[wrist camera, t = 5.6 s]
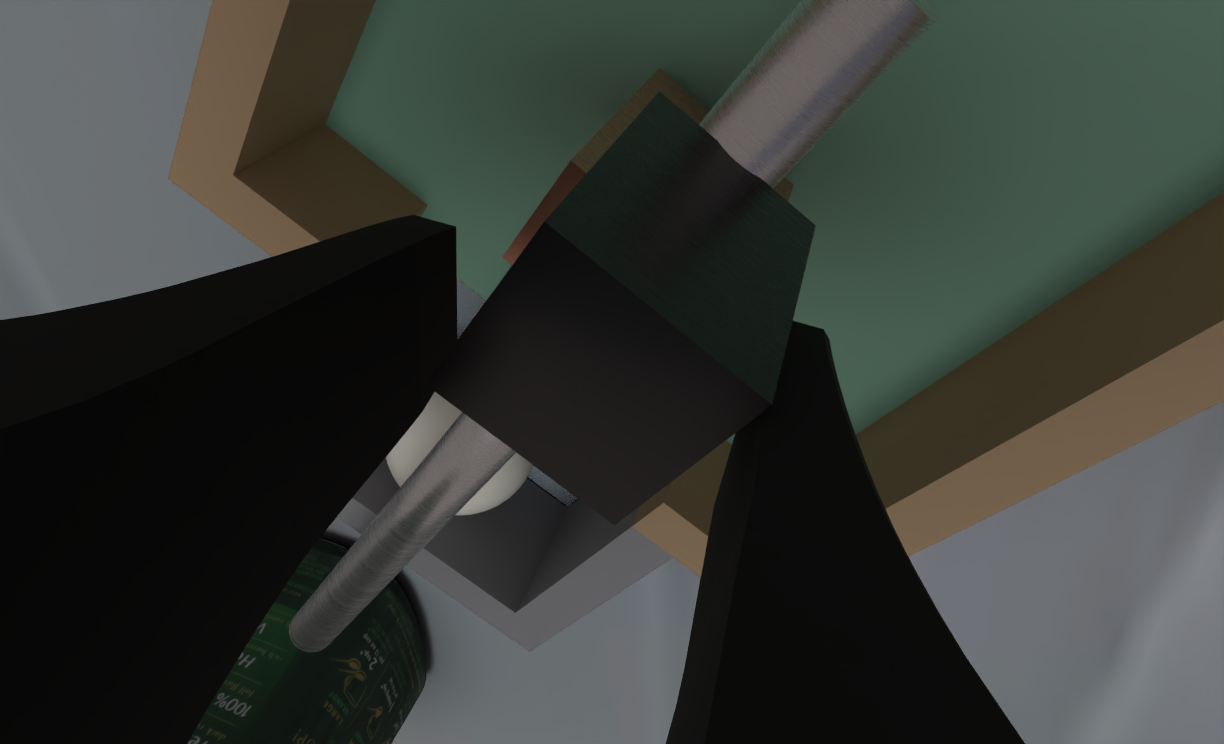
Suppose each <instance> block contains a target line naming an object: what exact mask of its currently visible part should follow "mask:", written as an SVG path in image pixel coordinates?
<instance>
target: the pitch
mask: <svg viewBox="0 0 1224 744" xmlns="http://www.w3.org/2000/svg"><path fill="white" fill-rule="evenodd" d="M800 1H801V0H213V2H212V6H211V10H210V14H209V18H208V21H207V25H206V29H205V33H204V37H203V41H202V45H201V49H200V53H199V57H198V61H197V65H196V69H195V73H194V77H193V81H192V85H191V89H190V93H189V97H188V101H187V105H186V109H185V113H184V117H183V121H182V125H181V129H180V133H179V137H178V141H177V145H176V149H175V153H174V157H173V161H172V165H171V169H170V173H169V177H168V179H169V180H170V181H172V182H173V183H174V184H176V185H177V186H178V187H180V188H181V189H182V190H184V191H185V192H186V193H188V194H189V195H190V196H192V197H193V198H194V199H196V200H197V201H198V202H200V203H201V204H202V205H204V206H205V207H206V208H208V209H209V210H210V211H212V212H213V213H214V214H216V215H217V216H218V217H220V218H221V219H222V220H224V221H225V222H226V223H228V224H229V225H230V226H232V227H233V228H234V229H236V230H237V231H238V232H240V233H241V234H242V235H244V236H245V237H246V238H248V239H249V240H250V241H252V242H253V243H254V244H256V245H257V246H258V247H260V248H261V249H262V250H264V251H265V252H266V253H268V254H269V255H270V256H272V257H273V256H276V255H280V254H283V253H286V252H289V251H292V250H295V249H298V248H301V247H304V246H308V245H311V244H314V243H317V242H320V241H323V240H326V239H329V238H332V237H335V236H339V235H342V234H345V233H348V232H351V231H354V230H357V229H361V228H364V227H367V226H370V225H374V224H377V223H381V222H384V221H388V220H391V219H395V218H399V217H404V216H409V215H416V216H420V217H424V218H427V219H431V220H434V221H438V222H442V223H445V224H449V225H452V226H456V252H457V278H458V279H459V280H460V281H462V282H463V283H464V284H466V285H467V286H468V287H469V288H471V289H472V290H473V291H475V292H476V293H477V294H478V295H480V296H481V297H482V298H484V299H485V300H486V301H487V299H488V298H489V296H490V295H491V294H492V292H493V291H494V290H495V288H496V287H497V285H498V284H499V283H500V281H501V280H502V279H503V277H504V276H505V275H506V273H507V272H508V270H509V269H510V268H511V266H512V265H511V264H510V263H508V262H507V261H506V260H505V259H503V258H502V256H503V255H504V254H505V252H506V251H507V249H508V248H509V247H510V245H511V244H512V242H513V241H514V239H515V238H516V237H517V235H518V234H519V232H520V231H521V230H522V228H523V227H524V225H525V224H526V223H527V221H528V220H529V218H530V217H531V215H532V214H533V213H534V211H535V210H536V208H537V207H538V206H539V204H540V203H541V201H542V200H543V199H544V197H545V196H546V194H547V193H548V192H549V190H550V189H551V187H552V186H553V184H554V183H555V182H556V180H557V179H558V177H559V176H560V175H561V173H562V172H563V170H564V169H565V168H566V166H567V165H568V163H569V162H570V160H571V159H572V158H573V157H574V156H575V155H576V154H577V153H578V152H579V151H580V150H581V149H582V148H583V147H584V146H585V145H586V144H587V143H588V142H589V141H590V140H591V139H592V137H593V136H594V135H595V134H596V133H597V132H598V131H599V130H600V129H601V128H602V127H603V126H604V125H605V124H606V123H607V122H608V121H609V120H610V119H611V118H612V117H613V116H614V115H615V114H616V112H617V111H618V110H619V109H620V108H621V107H622V106H623V105H624V104H625V103H626V102H627V101H628V100H629V99H630V98H631V97H632V96H633V95H634V94H635V93H636V92H637V91H638V90H639V89H640V88H641V86H642V85H643V84H644V83H645V82H646V81H647V80H648V79H649V78H650V77H651V76H652V75H653V74H654V73H655V72H656V71H657V70H658V69H659V68H660V69H661V70H662V71H663V72H665V73H666V74H667V75H668V76H669V77H670V78H671V79H673V80H674V81H675V82H676V83H677V84H678V85H680V86H681V87H682V88H683V89H684V90H685V91H686V92H688V93H689V94H690V95H691V96H692V97H693V98H695V99H696V100H697V101H698V102H699V103H700V104H701V105H703V106H704V107H705V108H706V109H707V110H708V111H710V110H711V109H712V108H713V106H714V105H715V104H716V103H717V102H718V100H719V99H720V98H721V97H722V96H723V94H724V93H725V92H726V91H727V89H728V88H729V87H730V86H731V85H732V83H733V82H734V81H735V80H736V78H737V77H738V76H739V75H740V74H741V72H742V71H743V70H744V69H745V68H746V66H747V65H748V64H749V63H750V61H751V60H752V59H753V58H754V57H755V55H756V54H757V53H758V52H759V51H760V49H761V48H762V47H763V46H764V44H765V43H766V42H767V41H768V40H769V38H770V37H771V36H772V35H773V33H774V32H775V31H776V30H777V29H778V27H779V26H780V25H781V24H782V23H783V21H784V20H785V19H786V18H787V16H788V15H789V14H790V13H791V12H792V10H793V9H794V8H795V7H796V6H797V4H798V3H799V2H800ZM927 1H928V2H929V4H930V5H931V6H932V8H933V9H934V11H935V13H936V15H937V17H938V20H937V21H936V22H935V23H934V24H933V25H932V26H931V27H930V28H929V29H928V30H927V31H926V32H925V33H924V34H923V35H922V36H921V37H920V38H919V39H918V40H917V41H916V42H915V43H914V44H913V45H912V46H911V47H910V48H909V50H908V51H907V52H906V53H905V54H904V55H903V56H902V57H901V58H900V59H899V60H898V61H897V62H896V63H895V64H894V65H893V66H892V67H891V68H890V69H889V70H888V71H887V72H886V73H885V74H884V75H883V76H882V77H881V78H880V79H879V80H878V81H877V82H876V83H875V84H874V85H873V86H872V88H871V89H870V90H869V91H868V92H867V93H866V94H865V95H864V96H863V97H862V98H861V99H860V100H859V101H858V102H857V103H856V104H855V105H854V106H853V107H852V108H851V109H850V110H849V111H848V112H847V113H846V114H845V115H844V116H843V117H842V118H841V119H840V120H839V121H838V122H837V123H836V124H835V126H834V127H833V128H832V129H831V130H830V131H829V132H828V133H827V134H826V135H825V136H824V137H823V138H822V139H821V140H820V141H819V142H818V143H817V144H816V145H815V146H814V147H813V148H812V149H811V150H810V151H809V152H808V153H807V154H806V155H805V156H804V157H803V158H802V159H801V160H800V161H799V162H798V164H797V165H796V166H795V167H794V168H793V169H792V170H791V171H790V172H789V173H788V174H787V175H786V176H785V177H786V178H787V179H788V180H789V181H790V182H791V183H792V184H794V186H793V189H792V192H791V195H790V198H789V201H788V202H789V203H790V204H791V205H793V206H794V207H795V208H796V209H797V210H798V211H800V212H801V213H802V214H803V215H804V216H805V217H806V218H808V219H809V220H810V221H811V222H812V223H813V224H815V225H816V227H815V231H814V235H813V239H812V243H811V247H810V252H809V256H808V260H807V264H806V268H805V272H804V276H803V280H802V284H801V289H800V293H799V297H798V301H797V305H796V309H795V313H794V317H793V321H796V322H800V323H803V324H807V325H810V326H814V327H818V328H821V329H824V331H825V332H826V334H827V336H828V338H829V340H830V345H831V351H832V356H833V361H834V365H835V369H836V373H837V377H838V381H839V384H840V388H841V391H842V395H843V398H844V402H845V405H846V408H847V411H848V414H849V417H850V420H851V423H852V426H853V429H854V431H855V434H856V437H857V440H858V442H859V445H860V448H861V451H862V453H863V456H864V459H865V462H866V464H867V467H868V469H869V472H870V474H871V477H872V479H873V481H874V484H875V486H876V489H877V491H878V493H879V496H880V498H881V500H882V502H883V504H884V507H885V509H886V511H887V513H888V516H889V518H890V520H891V522H892V524H893V527H894V529H895V531H896V533H897V535H898V537H899V539H900V541H901V543H902V545H903V547H904V549H905V551H906V553H907V555H908V556H910V555H912V554H914V553H916V552H918V551H921V550H923V549H925V548H927V547H929V546H931V545H933V544H935V543H937V542H939V541H941V540H943V539H945V538H947V537H949V536H951V535H953V534H955V533H957V532H959V531H961V530H963V529H965V528H967V527H969V526H971V525H973V524H975V523H977V522H979V521H981V520H983V519H985V518H987V517H989V516H991V515H993V514H995V513H997V512H999V511H1001V510H1003V509H1005V508H1007V507H1009V506H1011V505H1013V504H1015V503H1017V502H1020V501H1022V500H1024V499H1026V498H1028V497H1030V496H1032V495H1034V494H1036V493H1038V492H1040V491H1042V490H1044V489H1046V488H1048V487H1050V486H1052V485H1054V484H1056V483H1058V482H1060V481H1062V480H1064V479H1066V478H1068V477H1070V476H1072V475H1074V474H1076V473H1078V472H1080V471H1082V470H1084V469H1086V468H1088V467H1090V466H1092V465H1094V464H1096V463H1098V462H1100V461H1102V460H1104V459H1106V458H1108V457H1110V456H1112V455H1114V454H1116V453H1119V452H1121V451H1123V450H1125V449H1127V448H1129V447H1131V446H1133V445H1135V444H1137V443H1139V442H1141V441H1143V440H1145V439H1147V438H1149V437H1151V436H1153V435H1155V434H1157V433H1159V432H1161V431H1163V430H1165V429H1167V428H1169V427H1171V426H1173V425H1175V424H1177V423H1179V422H1181V421H1183V420H1185V419H1187V418H1189V417H1191V416H1193V415H1195V414H1197V413H1199V412H1201V411H1203V410H1205V409H1207V408H1209V407H1211V406H1213V405H1216V404H1218V403H1220V402H1222V401H1224V0H927ZM734 436H735V434H734V435H732V436H731V437H730V438H728V439H727V440H726V441H724V442H723V443H722V444H720V445H719V446H718V447H717V448H715V449H714V450H713V451H711V452H710V453H709V454H707V455H706V456H705V457H703V458H702V459H701V460H700V461H698V462H697V463H696V464H694V465H693V466H692V467H690V468H689V469H688V470H686V471H685V472H684V473H682V474H681V475H680V476H679V477H677V478H676V479H675V480H673V481H672V482H671V483H669V484H668V485H667V486H665V487H664V488H663V489H662V490H660V491H659V492H658V493H656V494H655V495H654V496H652V497H651V498H650V499H648V500H647V501H646V502H644V503H643V504H642V505H641V506H639V507H638V508H637V509H635V510H634V511H633V512H631V513H630V514H629V515H627V516H626V517H625V518H624V519H622V520H621V521H620V522H618V523H617V524H616V525H613V524H612V523H610V522H609V521H608V520H606V519H605V518H604V517H602V516H601V515H600V514H598V513H597V512H596V511H594V510H593V509H592V508H590V507H589V506H587V505H586V504H585V503H583V502H582V501H581V500H579V499H577V500H576V501H575V502H574V503H573V504H571V505H570V506H569V507H568V508H567V507H565V506H564V505H563V504H561V503H560V502H559V501H557V500H556V499H555V498H553V497H552V496H551V495H549V494H548V493H547V492H545V491H544V490H542V489H541V488H540V487H538V486H537V485H536V484H534V483H533V482H532V481H530V480H529V479H528V478H526V480H525V482H524V483H523V484H522V486H521V487H520V488H519V489H518V490H517V491H516V492H515V493H514V494H513V495H512V496H511V497H510V498H509V499H507V500H506V501H504V502H503V503H501V504H500V505H498V506H496V507H494V508H492V509H489V510H487V511H484V512H480V513H476V514H472V515H455V516H454V517H453V518H452V519H451V520H450V521H449V522H448V523H447V524H446V525H445V526H444V527H443V528H442V529H441V530H440V531H439V532H438V533H437V534H436V535H435V536H434V537H433V538H432V539H431V540H430V541H429V542H428V543H427V545H426V546H425V547H424V548H423V549H422V550H421V551H420V552H419V553H418V554H417V555H416V556H415V557H414V558H413V559H412V560H411V561H410V562H409V563H408V564H407V565H406V566H408V567H409V568H411V569H412V570H413V571H415V572H416V573H418V574H419V575H421V576H422V577H423V578H425V579H426V580H428V581H429V582H431V583H432V584H433V585H435V586H436V587H438V588H439V589H441V590H442V591H443V592H445V593H446V594H448V595H449V596H451V597H452V598H453V599H455V600H456V601H458V602H459V603H461V604H462V605H463V606H465V607H466V608H468V609H469V610H471V611H472V612H473V613H475V614H476V615H478V616H479V617H481V618H482V619H483V620H485V621H486V622H488V623H489V624H491V625H492V626H493V627H495V628H496V629H498V630H499V631H501V632H502V633H503V634H505V635H506V636H508V637H509V638H511V639H512V640H513V641H515V642H516V643H518V644H519V645H521V646H522V647H523V648H525V649H526V650H528V651H529V652H530V651H531V650H533V649H534V648H536V647H537V646H539V645H540V644H542V643H543V642H545V641H546V640H548V639H549V638H551V637H552V636H554V635H556V634H557V633H559V632H560V631H562V630H563V629H565V628H566V627H568V626H569V625H571V624H572V623H574V622H575V621H577V620H578V619H580V618H581V617H583V616H584V615H586V614H588V613H589V612H591V611H592V610H594V609H595V608H597V607H598V606H600V605H601V604H603V603H604V602H606V601H607V600H609V599H610V598H612V597H613V596H615V595H617V594H618V593H620V592H621V591H623V590H624V589H626V588H627V587H629V586H630V585H632V584H633V583H635V582H636V581H638V580H639V579H641V578H642V577H644V576H645V575H647V574H649V573H650V572H652V571H653V570H655V569H656V568H658V567H659V566H661V565H662V564H664V563H665V562H667V561H668V560H670V559H671V558H673V557H674V558H675V559H676V560H678V561H679V562H680V563H682V564H683V565H684V566H686V567H687V568H688V569H690V570H691V571H692V572H694V573H695V574H696V575H698V576H699V577H700V578H701V574H702V568H703V563H704V557H705V552H706V546H707V540H708V535H709V529H710V524H711V518H712V513H713V508H714V504H715V500H716V497H717V494H718V490H719V487H720V483H721V480H722V477H723V473H724V470H725V466H726V463H727V460H728V456H729V453H730V449H731V446H732V443H733V439H734ZM399 488H400V486H399V485H398V484H397V482H396V481H395V479H394V477H393V476H392V473H391V471H390V469H389V466H388V464H387V460H386V458H385V459H384V460H383V461H382V463H381V464H380V465H379V466H378V467H377V469H376V470H375V471H374V472H373V473H372V475H371V476H370V477H369V478H368V480H367V481H366V482H365V483H364V484H363V486H362V487H361V488H360V489H359V490H358V492H357V493H356V494H355V495H354V497H353V498H352V499H351V500H350V501H349V503H348V504H347V505H346V506H345V507H344V509H343V510H342V511H341V512H340V513H339V515H338V516H337V517H338V518H339V519H341V520H342V521H343V522H345V523H346V524H348V525H349V526H351V527H352V528H353V529H355V530H356V531H358V532H359V533H361V534H362V533H363V532H364V531H365V530H366V528H367V527H368V526H369V525H370V524H371V522H372V521H373V520H374V519H375V518H376V516H377V515H378V514H379V513H380V511H381V510H382V509H383V508H384V507H385V505H386V504H387V503H388V502H389V500H390V499H391V498H392V497H393V496H394V494H395V493H396V492H397V491H398V490H399Z"/></svg>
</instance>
